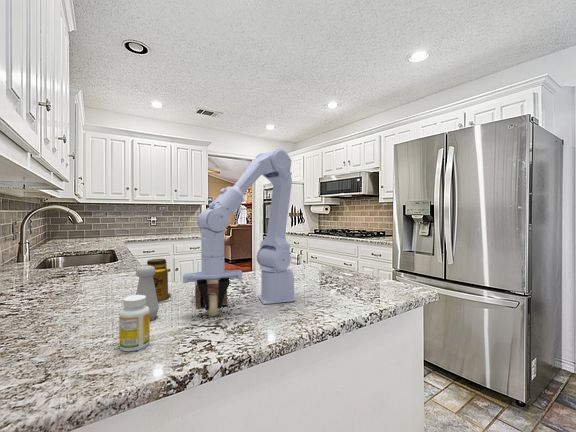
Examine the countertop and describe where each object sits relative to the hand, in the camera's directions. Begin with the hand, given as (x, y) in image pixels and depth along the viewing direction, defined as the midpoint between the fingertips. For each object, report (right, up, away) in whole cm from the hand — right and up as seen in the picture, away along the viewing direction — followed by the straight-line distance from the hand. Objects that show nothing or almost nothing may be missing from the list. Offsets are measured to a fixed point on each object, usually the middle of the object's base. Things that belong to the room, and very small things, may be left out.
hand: (213, 308), depth 75 cm
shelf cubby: (-4, -1, +12) cm, 12 cm away
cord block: (-2, -1, +6) cm, 7 cm away
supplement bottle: (-11, -2, -17) cm, 20 cm away
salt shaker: (-16, -2, -3) cm, 16 cm away
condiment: (-20, -2, +14) cm, 25 cm away
